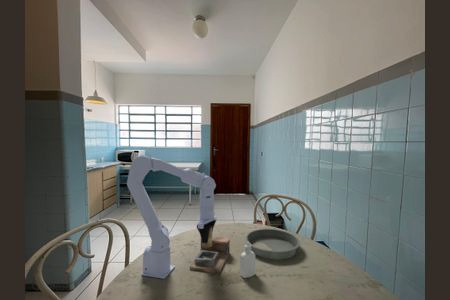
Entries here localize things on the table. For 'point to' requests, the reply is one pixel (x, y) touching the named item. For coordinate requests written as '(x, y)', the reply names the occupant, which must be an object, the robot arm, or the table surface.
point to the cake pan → (273, 243)
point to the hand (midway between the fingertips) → (206, 240)
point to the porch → (212, 256)
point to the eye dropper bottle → (247, 262)
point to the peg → (208, 240)
